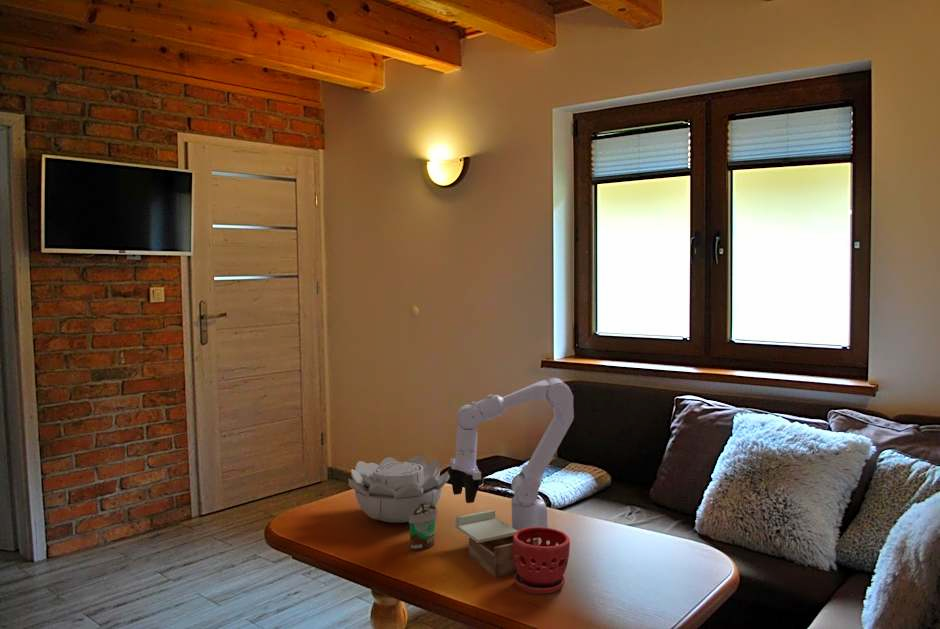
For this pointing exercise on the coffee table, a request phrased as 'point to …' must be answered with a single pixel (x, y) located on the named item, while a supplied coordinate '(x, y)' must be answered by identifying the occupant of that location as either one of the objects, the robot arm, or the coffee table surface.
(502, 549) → the box
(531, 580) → the plant pot
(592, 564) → the coffee table surface
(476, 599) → the coffee table surface
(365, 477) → the decorative bowl
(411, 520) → the food container
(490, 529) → the lid
